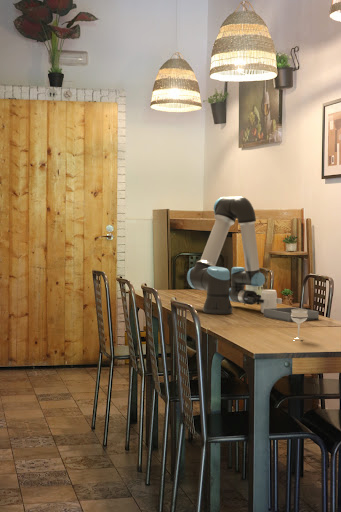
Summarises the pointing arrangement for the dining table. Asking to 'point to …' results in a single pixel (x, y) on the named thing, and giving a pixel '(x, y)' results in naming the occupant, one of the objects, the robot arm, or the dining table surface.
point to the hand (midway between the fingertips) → (274, 301)
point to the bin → (288, 314)
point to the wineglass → (299, 317)
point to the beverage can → (272, 299)
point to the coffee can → (255, 289)
